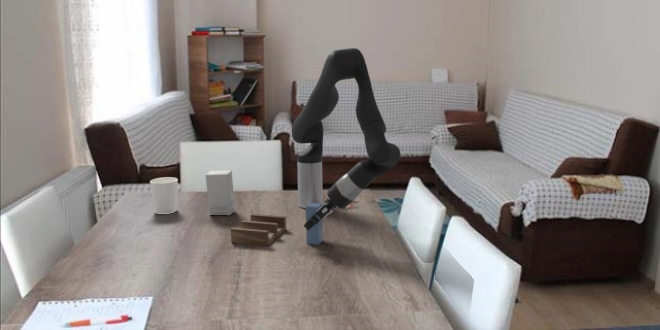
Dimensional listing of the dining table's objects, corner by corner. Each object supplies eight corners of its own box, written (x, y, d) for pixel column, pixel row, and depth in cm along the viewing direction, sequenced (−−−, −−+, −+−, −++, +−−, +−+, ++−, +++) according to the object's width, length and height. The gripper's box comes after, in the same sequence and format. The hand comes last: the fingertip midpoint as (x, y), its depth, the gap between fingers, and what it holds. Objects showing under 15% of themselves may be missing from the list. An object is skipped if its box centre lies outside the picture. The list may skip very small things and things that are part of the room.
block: (310, 239, 186) (310, 202, 183) (322, 240, 185) (322, 203, 182) (306, 243, 182) (305, 206, 180) (319, 244, 181) (318, 207, 178)
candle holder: (150, 210, 219) (148, 178, 217) (177, 206, 223) (175, 176, 221) (154, 217, 211) (152, 184, 208) (182, 213, 215) (180, 181, 212)
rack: (252, 226, 199) (252, 213, 198) (286, 229, 196) (285, 216, 195) (231, 242, 184) (230, 228, 183) (267, 246, 180) (266, 232, 179)
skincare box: (235, 211, 217) (233, 170, 213) (230, 216, 210) (228, 174, 207) (213, 210, 217) (210, 169, 214) (207, 216, 211) (205, 173, 208)
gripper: (343, 175, 184) (309, 208, 189) (330, 186, 170) (294, 221, 176) (360, 193, 183) (325, 225, 189) (348, 205, 170) (311, 240, 176)
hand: (310, 223), depth 182 cm, fingers open, 8 cm apart
